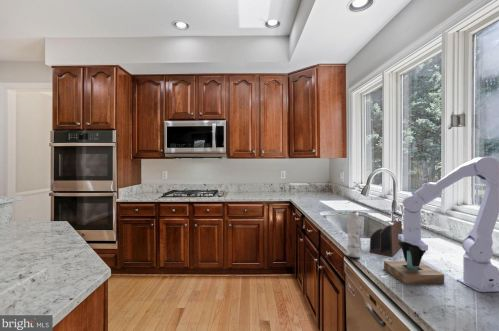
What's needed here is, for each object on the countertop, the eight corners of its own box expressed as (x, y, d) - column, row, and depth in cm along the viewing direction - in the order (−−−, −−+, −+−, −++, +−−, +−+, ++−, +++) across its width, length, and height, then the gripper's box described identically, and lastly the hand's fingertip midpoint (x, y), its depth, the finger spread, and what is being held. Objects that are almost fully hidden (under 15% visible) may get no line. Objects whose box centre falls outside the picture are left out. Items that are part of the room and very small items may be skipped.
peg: (420, 274, 102) (420, 253, 102) (411, 275, 101) (411, 253, 101) (413, 270, 105) (413, 250, 105) (404, 271, 105) (404, 250, 105)
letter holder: (402, 246, 138) (402, 218, 138) (392, 257, 123) (392, 226, 123) (381, 243, 145) (381, 216, 145) (369, 252, 130) (369, 222, 130)
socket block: (444, 283, 97) (444, 274, 97) (405, 284, 96) (405, 275, 96) (417, 267, 111) (417, 260, 111) (383, 268, 110) (383, 261, 110)
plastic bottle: (358, 254, 127) (357, 211, 127) (364, 259, 120) (364, 213, 120) (344, 254, 127) (344, 211, 127) (350, 259, 120) (350, 214, 120)
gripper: (390, 223, 110) (390, 257, 110) (414, 232, 96) (414, 271, 96) (408, 223, 110) (408, 256, 111) (433, 232, 96) (433, 271, 96)
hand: (412, 263), depth 103 cm, fingers open, 4 cm apart
